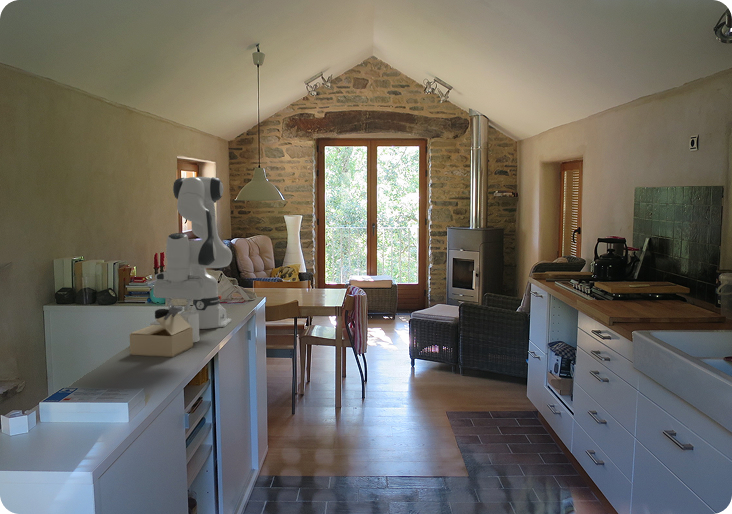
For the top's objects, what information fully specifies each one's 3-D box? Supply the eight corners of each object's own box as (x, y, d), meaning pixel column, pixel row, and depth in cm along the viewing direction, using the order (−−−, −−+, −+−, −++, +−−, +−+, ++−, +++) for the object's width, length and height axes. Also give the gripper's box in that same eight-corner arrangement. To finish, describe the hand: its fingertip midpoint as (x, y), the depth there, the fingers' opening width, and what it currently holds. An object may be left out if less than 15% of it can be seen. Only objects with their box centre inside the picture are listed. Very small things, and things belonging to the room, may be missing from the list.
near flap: (176, 312, 237) (185, 302, 235) (191, 327, 236) (199, 317, 235) (156, 319, 222) (165, 309, 221) (171, 335, 221) (180, 324, 220)
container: (167, 341, 246) (166, 311, 245) (150, 340, 247) (149, 310, 246) (176, 337, 253) (175, 308, 252) (160, 336, 255) (159, 307, 254)
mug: (198, 344, 241) (197, 316, 240) (176, 345, 239) (175, 316, 238) (200, 338, 253) (200, 310, 251) (180, 338, 251) (179, 311, 250)
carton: (153, 344, 241) (152, 324, 240) (192, 346, 237) (192, 326, 236) (130, 354, 225) (129, 332, 224) (172, 357, 221) (172, 335, 221)
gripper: (206, 275, 227) (207, 309, 229) (159, 273, 231) (160, 307, 233) (199, 277, 221) (199, 312, 223) (150, 275, 225) (151, 310, 227)
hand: (179, 309), depth 228 cm, fingers open, 5 cm apart
